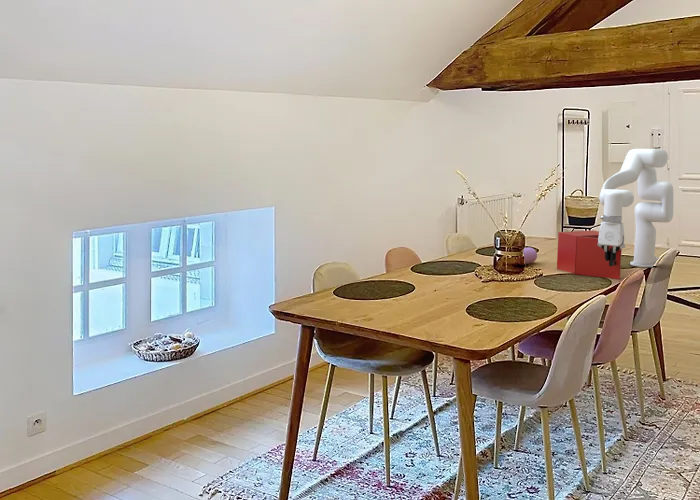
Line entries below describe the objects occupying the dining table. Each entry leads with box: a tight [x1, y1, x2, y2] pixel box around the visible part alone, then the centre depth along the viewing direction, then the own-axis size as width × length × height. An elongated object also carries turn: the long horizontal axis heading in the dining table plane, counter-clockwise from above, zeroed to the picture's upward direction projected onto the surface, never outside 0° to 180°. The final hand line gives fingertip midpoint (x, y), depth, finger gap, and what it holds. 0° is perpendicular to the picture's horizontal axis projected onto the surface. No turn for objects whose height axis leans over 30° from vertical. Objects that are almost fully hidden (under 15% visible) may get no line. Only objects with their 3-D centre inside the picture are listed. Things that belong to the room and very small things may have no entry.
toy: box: [523, 247, 538, 265], centre depth 356 cm, size 8×9×20 cm
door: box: [574, 236, 623, 280], centre depth 322 cm, size 7×20×18 cm, turn 53°
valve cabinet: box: [556, 230, 599, 275], centre depth 341 cm, size 14×20×18 cm
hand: (610, 260), depth 314 cm, fingers closed on door
